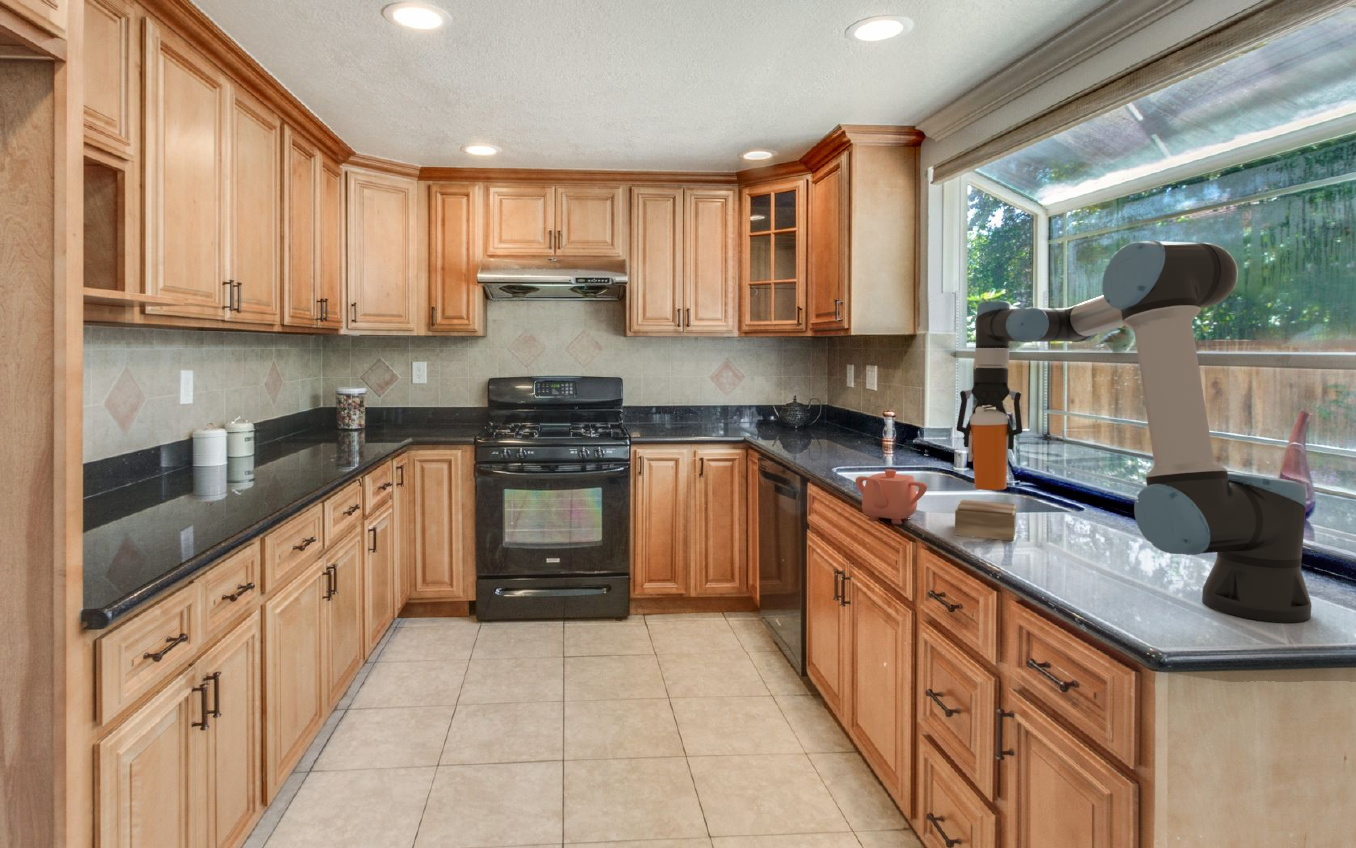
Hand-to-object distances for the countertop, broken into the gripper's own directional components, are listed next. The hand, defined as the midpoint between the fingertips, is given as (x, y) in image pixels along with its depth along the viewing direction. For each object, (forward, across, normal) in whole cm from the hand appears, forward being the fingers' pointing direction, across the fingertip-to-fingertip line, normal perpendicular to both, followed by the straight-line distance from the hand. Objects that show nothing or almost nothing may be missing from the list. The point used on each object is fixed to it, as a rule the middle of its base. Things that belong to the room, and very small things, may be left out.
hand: (987, 461), depth 189 cm
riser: (+17, 0, 0) cm, 17 cm away
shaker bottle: (+7, -1, 0) cm, 7 cm away
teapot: (+18, +24, -4) cm, 30 cm away
